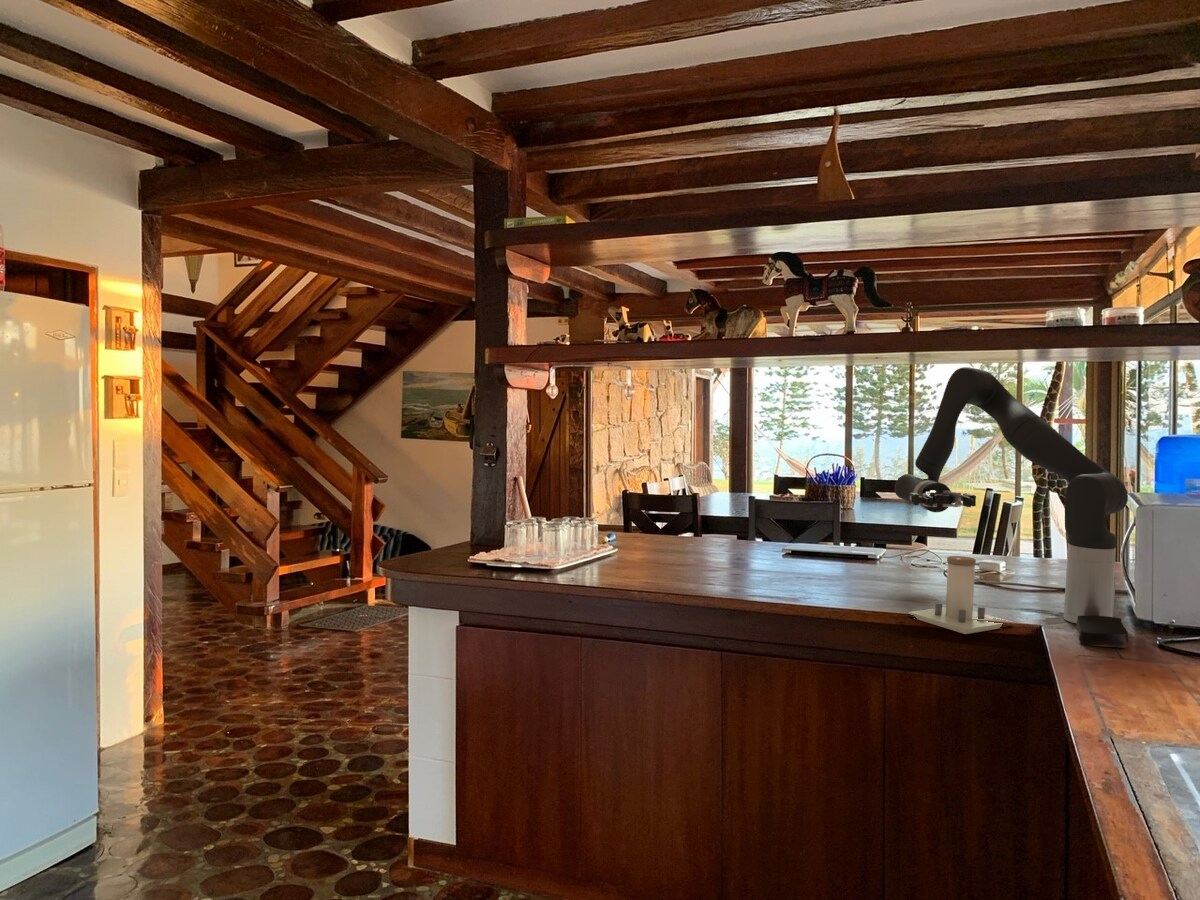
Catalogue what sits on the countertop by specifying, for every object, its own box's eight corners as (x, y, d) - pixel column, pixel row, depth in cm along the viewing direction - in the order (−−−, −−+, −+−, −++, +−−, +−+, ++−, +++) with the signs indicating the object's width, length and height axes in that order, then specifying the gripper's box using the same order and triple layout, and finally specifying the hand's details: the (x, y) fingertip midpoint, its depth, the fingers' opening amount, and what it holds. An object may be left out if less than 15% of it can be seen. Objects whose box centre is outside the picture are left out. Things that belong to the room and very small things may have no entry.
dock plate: (953, 609, 193) (954, 595, 193) (1011, 626, 180) (1012, 610, 180) (908, 616, 186) (908, 601, 186) (965, 634, 173) (965, 617, 173)
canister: (956, 611, 187) (959, 555, 186) (979, 618, 182) (981, 559, 181) (939, 614, 184) (941, 557, 183) (961, 621, 179) (963, 562, 178)
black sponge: (1128, 653, 163) (1130, 635, 162) (1079, 646, 166) (1080, 629, 166) (1119, 633, 177) (1121, 617, 177) (1074, 627, 181) (1075, 611, 181)
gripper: (902, 480, 209) (919, 485, 193) (961, 481, 207) (983, 486, 191) (902, 510, 209) (918, 517, 193) (961, 511, 207) (982, 518, 191)
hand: (950, 502), depth 192 cm, fingers open, 8 cm apart
